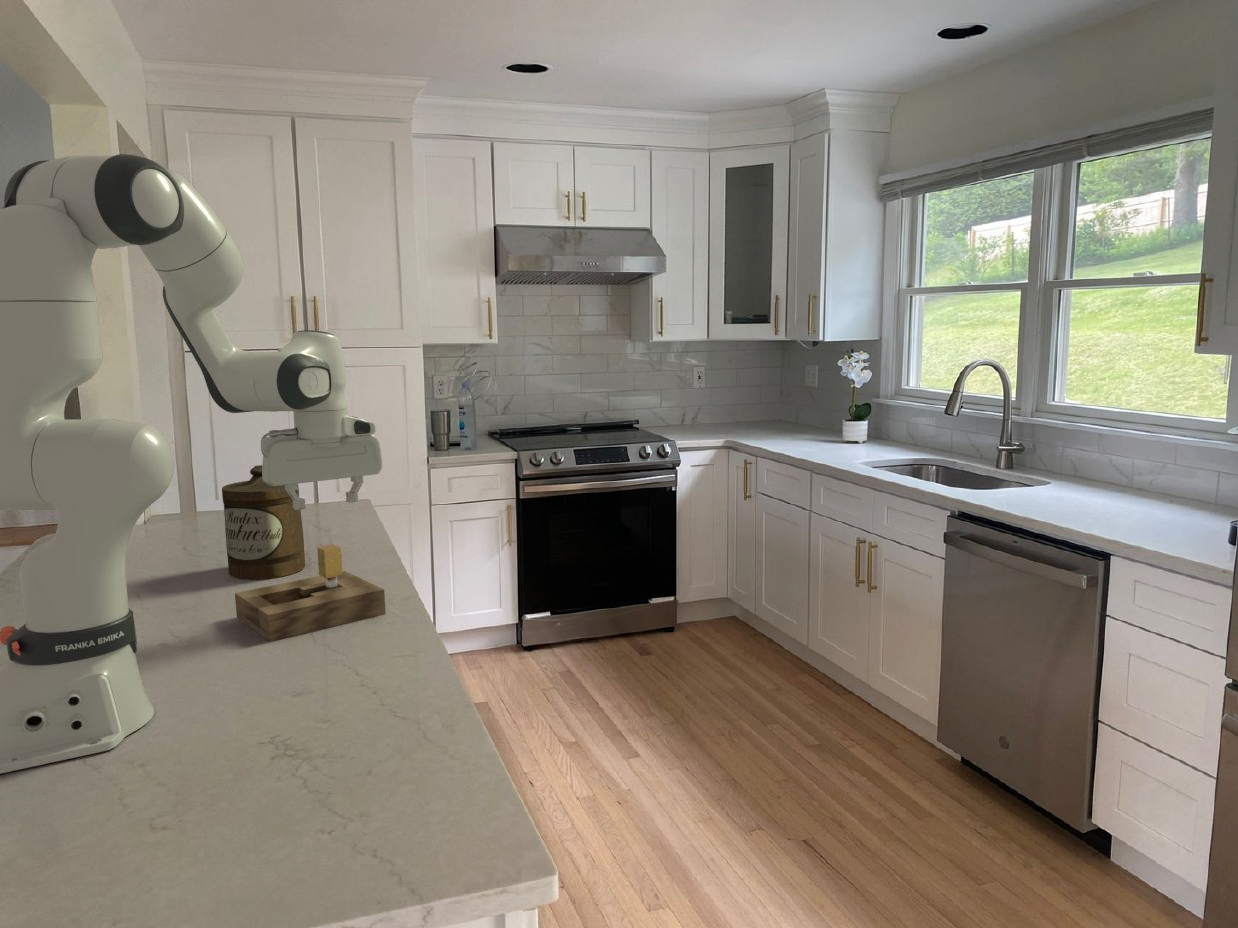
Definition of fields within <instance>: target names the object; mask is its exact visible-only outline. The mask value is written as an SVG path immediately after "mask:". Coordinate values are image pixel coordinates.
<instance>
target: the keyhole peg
mask: <svg viewBox="0 0 1238 928" xmlns="http://www.w3.org/2000/svg"><path fill="white" fill-rule="evenodd" d="M316 548H317V549H316V550H317V562H318V575H319V576H322V577H324V578H325V584H326V590H330V589H335V588H338V584H337V576H340V575H343V573H342V571H343V560H342V559H343V558H342V547H340V546H339V545H336V544H328V545H324V546H323V545H322V546H318V547H316Z"/></svg>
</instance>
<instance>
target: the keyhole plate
mask: <svg viewBox="0 0 1238 928" xmlns="http://www.w3.org/2000/svg"><path fill="white" fill-rule="evenodd" d="M342 573H343V575H340V576H337V584H338V588H335V589H330V590H326V584H325V578H324V577H322V576H320V575H319V576H318V575H317V576H313V577H307V578H303V579H298V580H294V581H288V582H283V583H277V584H274V585H273V584H272V585H268V586H263V587H259V588H253V589H248V590H243V591H238V592H235V593H234V599H235V601H234V602H235V613H236V618H237V619H238V618H239V620H240V621H241V622H242V623H243V624H245V623H246V624H245V625H247V626H248V627H250V628H251V629H252V628H253V629H252V630H254V631H255V632H257V633H258V634H259V635H261V636H262V637H263V638H265V639H266V640H267V641H269V642H273V641H277V640H282V639H286V638H290V637H294V636H298V635H302V634H306V633H311V632H314V631H318V630H323V629H328V628H332V627H336V626H340V625H344V624H348V623H352V622H356V621H361V620H364V619H368V618H374V617H377V616H381V615H385V614H386V613H387V612H386V596H385V588H383V587H380V586H378V585H377V584H374V583H372V582H370V581H367V580H365V579H363V578H361V577H359V576H356V575H355V574H352V573H351V572H349V571H346V570H344V571H343V570H342Z"/></svg>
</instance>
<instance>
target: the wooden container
mask: <svg viewBox="0 0 1238 928" xmlns="http://www.w3.org/2000/svg"><path fill="white" fill-rule="evenodd" d="M249 473H250V475H252V476H251V478H250V479H249V480H244V481H238V482H233V483H229V484H226V485H224V486H222V487H221V495H222V497H221V498H222V503H223V511H224V512H223V514H224V526H225V528H224V531H225V545H226V555H227V565H228V574H229V576H230V577H232V578H235V579H240V580H245V579H247V580H249V581H250V580H251V581H254V580H255V581H256V580H257V581H258V580H269V579H274V578H275V579H276V578H281V577H282V578H283V577H286V576H291V575H293V574H296V573H298V572H301V571H302V570H303V569H305V567H306V553H305V542H304V541H305V539H304V528H303V520H302V514H301V510H302V509H301V510H295V509H294V508H293V499H292V498H291V497H290V496H289V494H288V493H287V491H286V490H285V485H282V486H270V485H268V484H267V483H265V482H264V480H263V478H262V465H261V464H260V465H259V464H258V465H254V466H253V467H252V468H250V470H249ZM294 491H295V492H296V494H297V495H298V497H299V498H300V493H299V491H300V489H299V487H298V490H294Z"/></svg>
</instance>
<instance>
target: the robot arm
mask: <svg viewBox="0 0 1238 928" xmlns="http://www.w3.org/2000/svg"><path fill="white" fill-rule="evenodd" d="M129 246H139V249H141V251H142V254H144V256H145V257H146V260H147V261H149V263H150V265H151V266H152V267H153V269H154V270H155V272H156V273H157V275H158V276H159V278H160V279H161V281H162V283H163V286H162V299H163V302H164V305H165V307H166V310H167V312H168V314H169V316H170V318H171V320H172V322H173V324H174V326H175V327H176V328H177V330H178V332H179V333H180V335H181V337H182V339H183V341H184V343H185V345H186V346H187V347H188V349H189V351H190V353H191V354H192V357H193V358H194V359H195V361H196V363H197V365H198V367H199V369H200V371H201V373H202V376H203V378H204V380H205V384H206V387H207V390H208V392H209V394H210V397H211V398H212V400H213V401H214V403H215V404H216V405H217V406H218V407H219V408H221V409H222V410H223V411H225V412H228V413H231V414H240V413H243V414H244V413H251V412H252V413H253V412H269V413H270V412H275V413H276V412H293V427H294V428H284V429H271V430H268V432H266V433H265V434H264V435H263V436H262V437H261V438H260V452H261V454H262V455H263V456H262V478H263V480H264V482H265V483H267V484H268V485H270V486H282V485H285V490H286V491H287V493H288V494H289V496H290V497H291V498H292V499H293V508H294V509H295V510H306V499H305V498H302V497H300V496H299V497H298V495H297V494H296V492H295V491H294V490H298V488H299V484H306V483H307V484H308V483H317V482H323V481H324V482H325V481H330V480H331V481H332V480H339V479H349V478H350V482H353V483H352V485H351V488H350V490H349V491H345V496H346V497H345V501H346V502H347V503H352V504H353V503H358V501H359V496H358V495H359V494H358V493H359V491H360V489H361V487H362V486H363V483H364V477H365V476H375V475H379V474H380V473H381V470H382V468H383V457H382V450H381V444H380V441H379V439H378V438H377V437H376V436H375V435H374V434H375V433H376V431H377V425H376V423H375V422H373V421H370V420H366V419H361V418H359V417H357V416H353V415H352V416H351V415H349V414H348V412H349V411H348V410H349V409H348V404H347V402H346V397H345V388H346V383H347V379H346V378H347V377H346V365H345V358H344V352H343V348H342V344H341V342H340V339H339V338H338V337H337V336H336V335H334V334H332V333H330V332H326V331H322V330H321V331H319V330H310V329H305V330H304V329H302V330H298V331H295V332H294V333H293V334H292V338H291V340H290V342H288V343H287V344H286V345H285V346H283V347H282V348H279V349H277V351H261V352H260V351H255V352H253V351H252V352H251V351H247V350H243V349H242V348H239V347H237V346H235V345H234V344H233V343H232V342H231V340H230V338H229V336H228V334H227V332H226V330H225V328H224V326H223V325H222V323H221V321H220V319H219V317H218V316H217V314H216V312H215V308H218V307H219V306H221V305H222V304H223V303H225V302H226V301H227V300H228V299H229V298H230V297H231V296H232V295H233V294H234V293H235V292H236V290H237V289H238V288H239V286H240V284H241V282H242V279H243V275H244V267H245V266H244V260H243V257H242V254H241V252H240V250H239V247H238V246H237V244H236V243H235V241H234V239H233V238H232V236H231V234H229V232H228V230H227V229H226V227H225V226H224V224H223V222H222V221H221V220H220V219H219V216H217V214H216V213H215V212H214V210H213V209H212V207H211V206H210V204H208V203H207V201H206V200H205V199H204V197H203V196H202V195H201V194H200V193H199V192H198V191H197V190H196V189H195V187H194V186H193V185H192V184H190V182H189V181H188V180H187V179H186V178H185V177H184V176H183V175H181V174H180V173H179V172H176V171H174V170H171V169H167V168H164V167H163V166H162V165H161V164H160V163H157V162H156V161H155V160H152V159H149V158H146V157H144V156H140V155H134V154H125V153H121V154H119V153H118V154H115V155H88V154H79V155H71V156H63V157H60V158H56V159H51V160H46V159H45V160H44V159H43V160H39V161H38V160H37V161H34V162H32V163H29V164H26V165H24V167H22V168H19V169H18V170H17V171H15V172H14V174H12V176H11V177H10V179H9V180H8V182H7V185H6V188H5V192H4V200H3V207H2V209H0V511H6V512H7V511H8V512H10V511H56V513H57V516H58V517H57V527H56V532H55V534H54V536H53V538H50V539H48V540H47V541H45V542H43V543H41V544H40V545H38V546H37V547H35V548H34V549H33V550H31V551H30V552H29V553H28V554H27V555H26V557H25V558H24V560H23V561H22V563H21V565H20V568H19V571H18V576H19V584H20V592H21V599H22V608H23V609H22V610H23V616H24V617H23V618H24V624H23V625H21V627H19V628H18V629H17V628H15V626H13V625H7V626H4V627H1V629H0V643H2V645H4V646H6V650H7V654H8V655H7V656H8V658H9V659H8V660H7V661H6V662H5V663H4V664H3V665H2V666H0V774H6V773H10V772H14V771H19V770H23V769H28V768H32V767H38V766H43V765H46V764H50V763H55V762H61V761H65V760H69V759H74V758H79V757H84V756H88V755H94V754H97V753H102V752H107V751H110V750H112V749H113V748H115V747H117V746H118V745H119V744H120V743H121V742H122V741H123V740H124V739H125V737H127V736H129V735H130V734H132V733H134V732H135V731H137V730H139V729H140V728H142V727H143V726H144V725H146V724H147V723H148V722H150V721H151V719H152V718H153V716H154V714H155V709H154V707H153V705H152V703H151V701H150V699H149V697H148V695H147V691H146V689H145V686H144V682H143V680H142V677H141V674H140V673H141V672H140V669H139V665H138V661H137V657H136V653H137V649H138V647H137V646H138V634H137V625H136V618H135V617H134V611H133V610H131V608H130V607H129V599H128V584H127V583H128V582H127V551H128V545H129V541H130V538H131V534H132V532H133V529H134V528H135V526H136V524H137V522H138V520H139V519H140V517H142V514H144V512H145V511H146V510H147V509H148V508H149V507H150V506H151V505H152V504H154V503H155V502H157V501H158V500H159V499H160V498H161V497H163V495H164V493H165V492H166V491H167V489H168V488H169V486H170V484H171V483H172V479H173V477H174V472H175V457H174V451H173V450H172V447H171V445H170V443H169V440H168V439H167V438H166V437H165V436H164V434H163V432H161V431H160V430H159V429H158V428H156V427H155V426H153V425H148V424H144V423H139V422H135V421H128V420H124V419H123V420H121V419H116V418H103V419H102V418H98V419H97V418H95V419H93V418H92V419H89V418H87V419H85V418H84V419H83V418H81V419H79V418H78V419H77V418H76V419H65V407H66V402H67V399H68V398H69V396H70V394H71V392H72V391H73V390H74V389H76V388H77V387H79V386H82V385H84V384H85V383H87V382H88V381H89V380H91V379H92V378H93V377H95V375H96V374H97V373H98V371H99V370H100V368H101V366H102V364H103V357H104V356H103V350H102V349H103V348H102V340H101V339H102V338H101V328H100V321H99V311H98V310H99V309H98V303H97V300H98V299H97V292H96V287H95V280H94V276H93V269H92V264H93V259H94V255H95V253H96V251H97V250H98V249H99V250H105V249H106V250H107V249H117V248H124V247H125V248H126V247H129Z"/></svg>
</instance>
